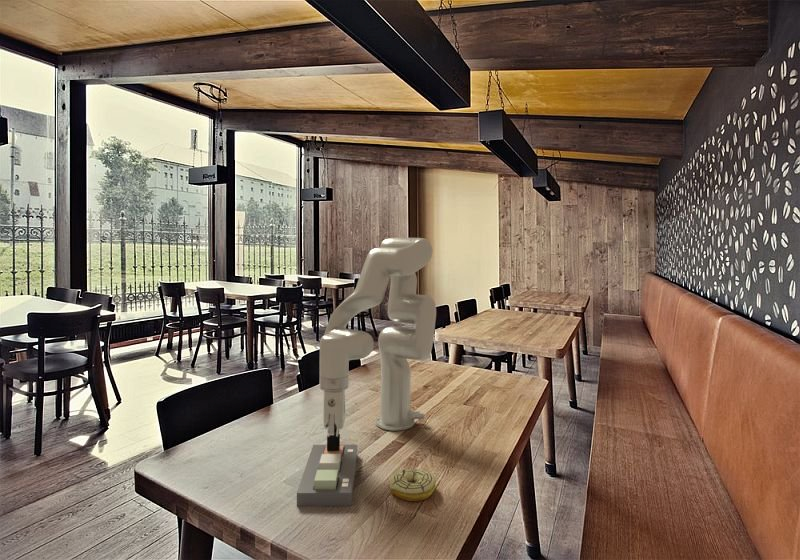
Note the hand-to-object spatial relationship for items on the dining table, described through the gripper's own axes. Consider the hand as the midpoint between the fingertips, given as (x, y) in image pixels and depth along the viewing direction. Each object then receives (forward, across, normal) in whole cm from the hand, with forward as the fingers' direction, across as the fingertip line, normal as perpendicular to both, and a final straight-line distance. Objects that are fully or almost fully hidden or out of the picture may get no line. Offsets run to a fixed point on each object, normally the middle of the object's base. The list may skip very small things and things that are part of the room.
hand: (333, 449), depth 119 cm
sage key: (+2, -16, 0) cm, 16 cm away
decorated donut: (+4, -14, -20) cm, 25 cm away
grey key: (+2, -8, 0) cm, 8 cm away
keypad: (+4, -8, 0) cm, 9 cm away
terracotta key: (+3, 0, 0) cm, 3 cm away
